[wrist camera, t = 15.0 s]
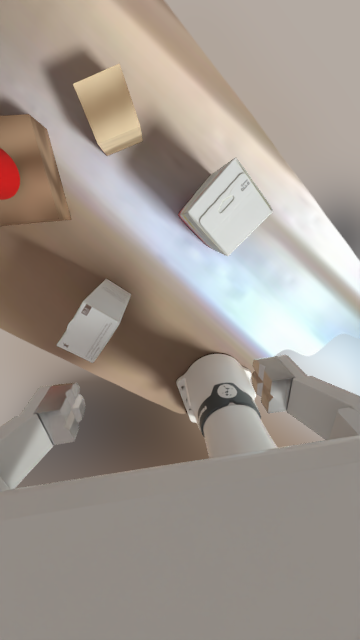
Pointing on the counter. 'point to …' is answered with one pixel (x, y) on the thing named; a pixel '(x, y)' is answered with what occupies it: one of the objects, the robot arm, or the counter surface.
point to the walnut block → (31, 173)
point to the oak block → (109, 110)
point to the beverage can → (8, 176)
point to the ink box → (226, 208)
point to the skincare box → (95, 321)
